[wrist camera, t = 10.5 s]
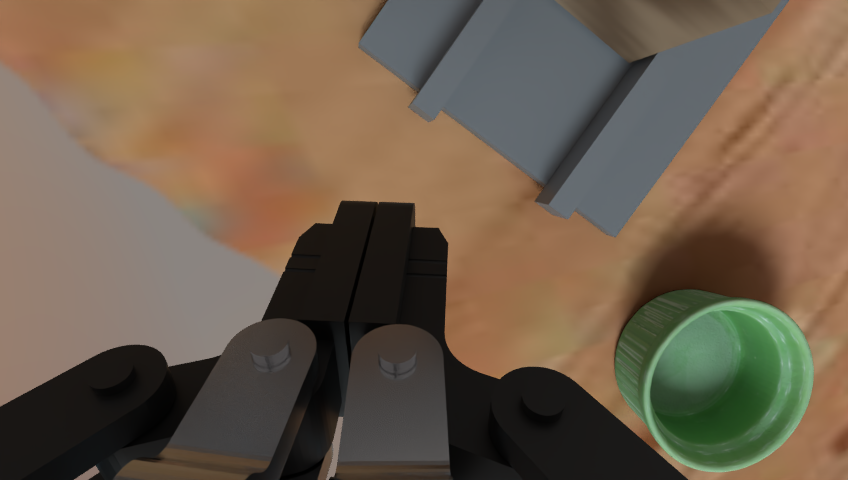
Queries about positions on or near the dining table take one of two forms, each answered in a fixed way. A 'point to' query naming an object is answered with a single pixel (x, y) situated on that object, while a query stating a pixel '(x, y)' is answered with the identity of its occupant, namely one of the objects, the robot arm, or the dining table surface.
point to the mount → (559, 93)
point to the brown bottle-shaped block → (661, 21)
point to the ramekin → (715, 377)
